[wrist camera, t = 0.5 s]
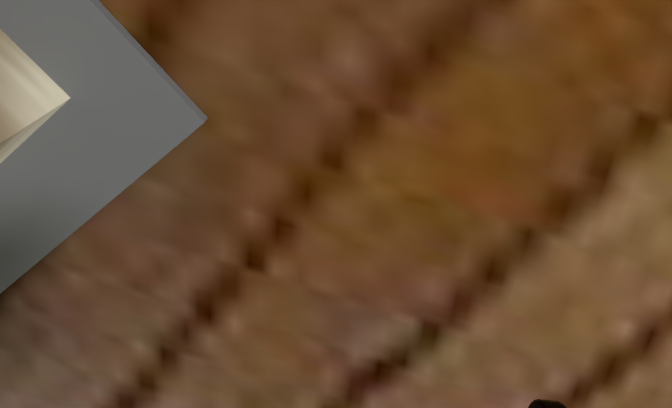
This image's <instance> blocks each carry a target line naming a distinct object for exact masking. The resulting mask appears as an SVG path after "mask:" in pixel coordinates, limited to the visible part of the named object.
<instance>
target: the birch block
mask: <svg viewBox="0 0 672 408" xmlns="http://www.w3.org/2000/svg"><path fill="white" fill-rule="evenodd" d="M69 99H70V97H69V96H68V95H67V94H66V93H65V92H64V91H63V90H62V89H61V88H60V87H59V86H58V85H57V84H56V83H55V82H54V81H53V80H52V79H51V78H50V77H49V76H48V75H47V74H46V73H45V72H44V71H43V70H42V69H41V68H40V67H39V66H38V65H37V64H36V63H35V62H34V61H33V60H32V59H31V58H30V57H29V56H28V55H26V54H25V53H24V52H23V51H22V50H21V49H20V48H19V47H18V46H17V45H16V44H15V43H14V42H13V41H12V40H11V39H10V38H9V37H8V36H7V35H6V34H5V33H4V32H3V31H2V30H1V29H0V163H2V162H3V161H4V160H5V159H6V158H7V157H8V156H9V155H10V154H11V153H12V152H13V151H14V150H15V149H17V148H18V147H19V146H20V145H21V144H22V143H23V142H24V141H25V140H26V139H27V138H28V137H29V136H30V135H32V134H33V133H34V132H35V131H36V130H37V129H38V128H39V127H40V126H41V125H42V124H43V123H44V122H45V121H47V120H48V119H49V118H50V117H51V116H52V115H53V114H54V113H55V112H56V111H57V110H58V109H59V108H60V107H62V106H63V105H64V104H65V103H66V102H67V101H68V100H69Z"/></svg>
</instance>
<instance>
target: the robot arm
mask: <svg viewBox="0 0 672 408" xmlns="http://www.w3.org/2000/svg"><path fill="white" fill-rule="evenodd" d="M528 408H567V407H566V406H565V405H563V404H562V403H560V402H558V401H552V400H541V399H537V400H534V401H533V402H531V404H530V405H529V407H528Z"/></svg>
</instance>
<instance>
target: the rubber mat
mask: <svg viewBox="0 0 672 408" xmlns="http://www.w3.org/2000/svg"><path fill="white" fill-rule="evenodd" d="M0 29H1V30H2V31H3V32H4V33H5V34H6V35H7V36H8V37H9V38H10V39H11V40H12V41H13V42H14V43H15V44H16V45H17V46H18V47H19V48H20V49H21V50H22V51H23V52H24V53H25V54H26V55H28V56H29V57H30V58H31V59H32V60H33V61H34V62H35V63H36V64H37V65H38V66H39V67H40V68H41V69H42V70H43V71H44V72H45V73H46V74H47V75H48V76H49V77H50V78H51V79H52V80H53V81H54V82H55V83H56V84H57V85H58V86H59V87H60V88H61V89H62V90H63V91H64V92H65V93H66V94H67V95H68V96H69V97H70V99H69V100H68V101H67V102H66V103H65V104H64V105H63V106H62V107H60V108H59V109H58V110H57V111H56V112H55V113H54V114H53V115H52V116H51V117H50V118H49V119H48V120H47V121H45V122H44V123H43V124H42V125H41V126H40V127H39V128H38V129H37V130H36V131H35V132H34V133H33V134H32V135H30V136H29V137H28V138H27V139H26V140H25V141H24V142H23V143H22V144H21V145H20V146H19V147H18V148H17V149H15V150H14V151H13V152H12V153H11V154H10V155H9V156H8V157H7V158H6V159H5V160H4V161H3V162H2V163H0V293H2V292H3V291H4V290H5V289H6V288H8V287H9V286H10V285H11V284H12V283H14V282H15V281H16V280H17V279H18V278H20V277H21V276H22V275H23V274H24V273H25V272H27V271H28V270H29V269H30V268H31V267H33V266H34V265H35V264H36V263H37V262H39V261H40V260H41V259H42V258H43V257H45V256H46V255H47V254H48V253H49V252H51V251H52V250H53V249H54V248H55V247H57V246H58V245H59V244H60V243H61V242H62V241H64V240H65V239H66V238H67V237H68V236H70V235H71V234H72V233H73V232H74V231H76V230H77V229H78V228H79V227H80V226H82V225H83V224H84V223H85V222H86V221H88V220H89V219H90V218H91V217H92V216H93V215H95V214H96V213H97V212H98V211H99V210H101V209H102V208H103V207H104V206H105V205H107V204H108V203H109V202H110V201H111V200H113V199H114V198H115V197H116V196H117V195H119V194H120V193H121V192H122V191H123V190H124V189H126V188H127V187H128V186H129V185H130V184H132V183H133V182H134V181H135V180H136V179H138V178H139V177H140V176H141V175H142V174H144V173H145V172H146V171H147V170H148V169H150V168H151V167H152V166H153V165H154V164H155V163H157V162H158V161H159V160H160V159H161V158H163V157H164V156H165V155H166V154H167V153H169V152H170V151H171V150H172V149H173V148H175V147H176V146H177V145H178V144H179V143H181V142H182V141H183V140H184V139H185V138H186V137H188V136H189V135H190V134H191V133H192V132H194V131H195V130H196V129H197V128H198V127H200V126H201V125H202V124H203V123H204V122H205V121H206V119H207V116H206V115H205V114H204V113H203V112H202V111H201V110H200V109H199V108H198V107H197V106H196V105H195V104H194V103H193V101H192V100H191V99H190V98H189V97H188V96H187V95H186V94H185V93H184V92H183V91H182V90H181V89H180V87H179V86H178V85H177V84H176V83H175V82H174V81H173V80H172V79H171V78H170V77H169V76H168V75H167V73H166V72H165V71H164V70H163V69H162V68H161V67H160V66H159V65H158V64H157V63H156V62H155V61H154V59H153V58H152V57H151V56H150V55H149V54H148V53H147V52H146V51H145V50H144V49H143V48H142V47H141V45H140V44H139V43H138V42H137V41H136V40H135V39H134V38H133V37H132V36H131V35H130V34H129V33H128V31H127V30H126V29H125V28H124V27H123V26H122V25H121V24H120V23H119V22H118V21H117V20H116V19H115V17H114V16H113V15H112V14H111V13H110V12H109V11H108V10H107V9H106V8H105V7H104V6H103V5H102V3H101V2H100V1H99V0H0Z"/></svg>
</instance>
